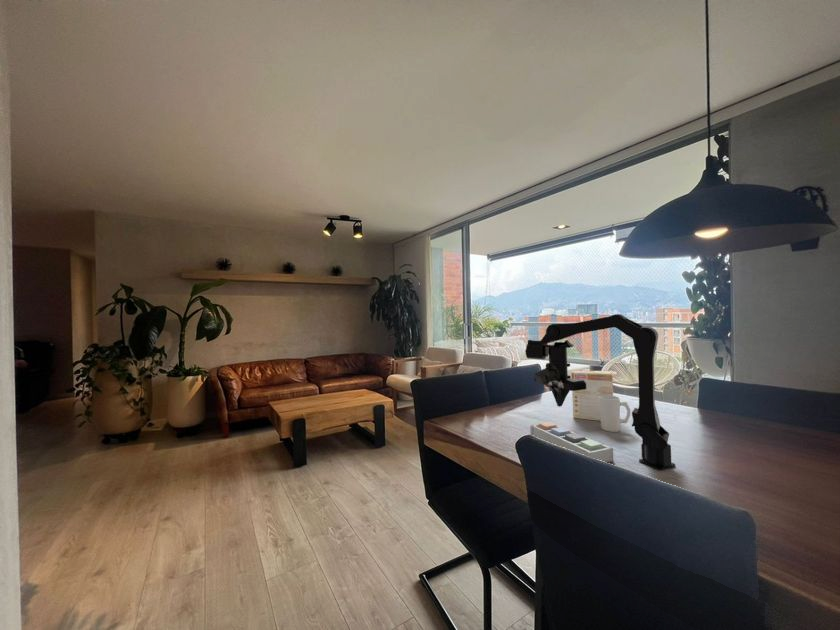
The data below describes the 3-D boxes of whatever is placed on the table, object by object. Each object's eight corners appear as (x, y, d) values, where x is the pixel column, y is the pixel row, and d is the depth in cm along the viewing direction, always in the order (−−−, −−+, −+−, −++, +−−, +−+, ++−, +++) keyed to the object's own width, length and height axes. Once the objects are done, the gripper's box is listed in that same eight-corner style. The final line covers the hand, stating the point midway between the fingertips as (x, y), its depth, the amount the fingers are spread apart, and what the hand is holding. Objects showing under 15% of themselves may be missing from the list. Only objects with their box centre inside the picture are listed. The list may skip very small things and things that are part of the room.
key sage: (602, 451, 103) (602, 443, 103) (591, 454, 101) (591, 446, 101) (591, 447, 107) (590, 439, 107) (580, 449, 105) (580, 441, 105)
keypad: (613, 461, 102) (613, 447, 102) (589, 466, 99) (589, 453, 99) (550, 432, 128) (550, 422, 128) (530, 436, 125) (530, 425, 125)
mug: (599, 430, 128) (598, 398, 128) (600, 425, 134) (599, 394, 134) (631, 434, 123) (630, 401, 123) (630, 428, 129) (629, 396, 129)
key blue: (570, 437, 115) (569, 430, 115) (560, 439, 114) (559, 432, 114) (561, 433, 119) (560, 426, 119) (551, 435, 118) (551, 428, 118)
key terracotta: (556, 431, 121) (556, 424, 121) (546, 433, 120) (546, 426, 120) (548, 428, 125) (548, 421, 125) (538, 429, 124) (538, 423, 124)
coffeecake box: (614, 418, 142) (612, 371, 142) (613, 423, 136) (612, 373, 136) (575, 413, 150) (573, 369, 150) (572, 418, 144) (571, 371, 144)
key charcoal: (585, 444, 109) (585, 436, 109) (574, 446, 108) (574, 438, 108) (575, 440, 113) (575, 432, 113) (565, 442, 112) (564, 434, 112)
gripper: (521, 359, 123) (522, 402, 123) (558, 365, 105) (560, 416, 105) (546, 356, 126) (548, 399, 126) (586, 363, 109) (588, 412, 109)
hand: (559, 406), depth 116 cm, fingers closed
